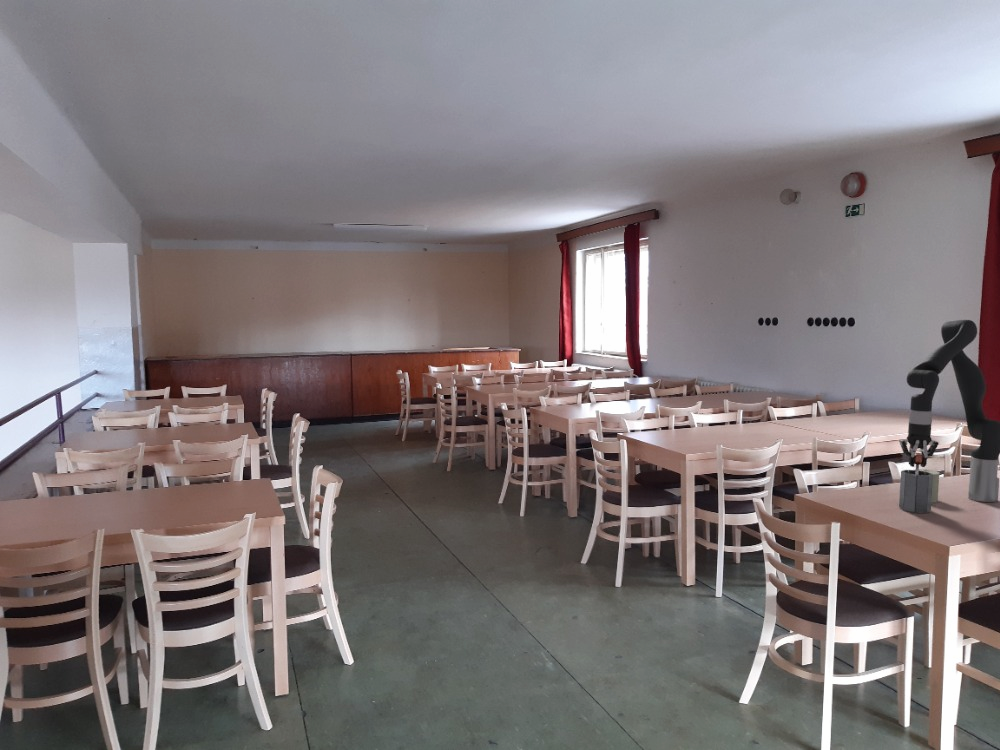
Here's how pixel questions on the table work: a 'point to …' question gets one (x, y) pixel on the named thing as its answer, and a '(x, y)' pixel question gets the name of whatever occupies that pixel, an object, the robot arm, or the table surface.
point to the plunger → (918, 462)
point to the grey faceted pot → (916, 491)
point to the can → (934, 484)
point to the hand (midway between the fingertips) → (917, 466)
